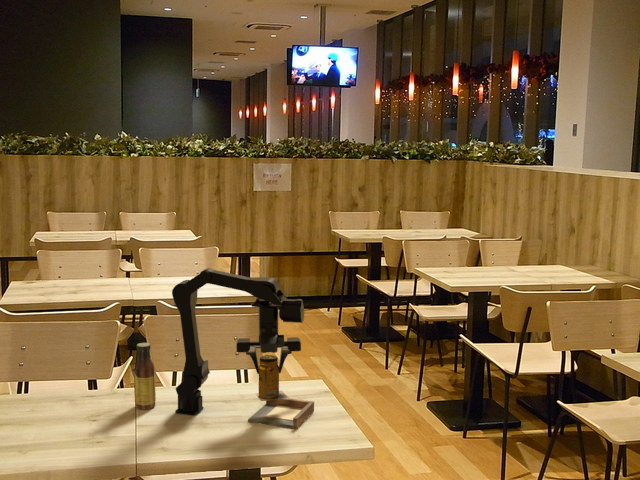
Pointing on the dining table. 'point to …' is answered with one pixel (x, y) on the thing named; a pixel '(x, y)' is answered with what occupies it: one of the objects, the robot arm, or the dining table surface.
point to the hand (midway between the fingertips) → (268, 373)
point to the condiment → (269, 379)
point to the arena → (283, 412)
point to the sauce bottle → (144, 378)
